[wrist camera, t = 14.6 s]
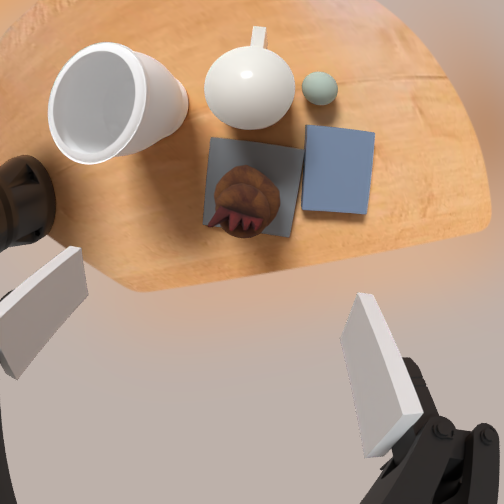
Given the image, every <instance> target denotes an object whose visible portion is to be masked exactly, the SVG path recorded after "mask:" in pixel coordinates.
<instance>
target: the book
mask: <svg viewBox="0 0 504 504" xmlns="http://www.w3.org/2000/svg"><path fill="white" fill-rule="evenodd" d="M374 141H375V133H373V132H367V131H360V130H352V129H344V128H336V127H326V126H315V125H305V146H304V150H305V153H304V165H303V181H302V196H301V207H302V210H314V211H330V212H344V213H357V214H366V213H367V208H368V200H369V192H370V184H371V175H372V165H373V154H374Z"/></svg>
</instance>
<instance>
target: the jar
mask: <svg viewBox="0 0 504 504" xmlns="http://www.w3.org/2000/svg"><path fill="white" fill-rule="evenodd" d="M187 111H188V96H187V92H186V90H185V88H184V86H183V85H182V84H181V83H180V82H179V81H178V80H177V79H176V78H174V76H173V75H172V74H171V73H170V72H169V71H168V69H167V68H166V67H165V66H164V65H162V64H161V63H160V62H159V61H157V60H155V59H154V58H152V57H150V56H148V55H145V54H142V53H139V52H135V51H133V50H131V49H130V48H128V47H126V46H124V45H121V44H118V43H112V42H101V43H96V44H93V45H90V46H88V47H85V48H84V49H82V50H80V51H79V52H77V53H76V54H75V55H74V56H73V57H72V58H70V59H69V61H68V62H67V63H66V64H65V65H64V66H63V68H62V69H61V71H60V72H59V74H58V76H57V78H56V80H55V82H54V84H53V87H52V90H51V93H50V98H49V104H48V122H49V127H50V131H51V135H52V137H53V139H54V142H55V143H56V145H57V147H58V148H59V149H60V151H61V152H62V153H63V154H64V155H65V156H67V157H68V158H69V159H71V160H73V161H75V162H78V163H81V164H97V163H101V162H104V161H106V160H109V159H111V158H113V157H117V156H125V155H130V154H134V153H137V152H139V151H142V150H144V149H146V148H148V147H150V146H152V145H153V144H155V143H156V142H158V141H159V140H161V139H162V138H165V137H167V136H169V135H171V134H172V133H174V132H175V131H176V130H177V129H178V128H179V127H180V126H181V125H182V123H183V121H184V120H185V117H186V115H187Z"/></svg>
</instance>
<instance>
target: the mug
mask: <svg viewBox="0 0 504 504" xmlns="http://www.w3.org/2000/svg"><path fill="white" fill-rule="evenodd" d="M267 46H268V40H267V30H266V27H258V26H253V32H252V38H251V45H250V46H248V47H240V48H236V49H233V50H231V51H229V52H227V53H225V54H223V55H222V56H221V57H219V58H218V59H217V60H216V61H215V62H214V63H213V65H212V66H211V68H210V69H209V71H208V73H207V76H206V79H205V86H204V92H205V98H206V101H207V104H208V106H209V108H210V110H211V111H212V112H213V114H214V115H215V116H216V117H217V118H218V119H220V120H221V121H222V122H224V123H225V124H227V125H229V126H232V127H235V128H238V129H245V130H253V129H262V128H267V127H270V126H272V125H274V124H275V123H277V122H278V121H279V120H280V119H281V118H282V117H283V116H284V115H285V113H286V112H287V111H288V109H289V108H290V106H291V104H292V101H293V99H294V94H295V81H294V76H293V74H292V71H291V69H290V68H289V66H288V65H287V63H286V62H285V61H284V60H283V59H282V58H281V57H280V56H278V55H277V54H275V53H274V52H272V51H270V50H267Z"/></svg>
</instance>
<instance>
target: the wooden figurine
mask: <svg viewBox="0 0 504 504" xmlns="http://www.w3.org/2000/svg"><path fill="white" fill-rule="evenodd" d="M214 200H215V205H216V206H215V211H216V212H215V214H214V216H213V217H212V219H211V220H210V222H209V223H208V227H214V226H216V225H218V224H220V226H221V227H222V228H223V229H224V230H225V231H226V232H227V233H228V234H230V235H232V236H235V237H239V238H251V237H253V236H256V235H258V234H260V233H261V232H262V231H263V230H264V229H265V227H267V226H268V225H269V224H270V223H271V222H272V221H273V220H274V218H275V217H276V215H277V212H278V210H279V207H280V191H279V189H278V188H277V187H276V186H275V184H274V183H273V182H272V181H271V180H270V179H269V178H268V177H267V176H265V175H264V174H263V173H261V172H260V171H258V170H257V169H255V168H253V167H250V166H248V165H242V166H236V167H234V168H233V169H231V170H230V171H229V172H227V173H226V174H225V175H224V176H223V177H222V178H221V179H220V181H219V182H218V183H217V185H216V188H215V192H214Z"/></svg>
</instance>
